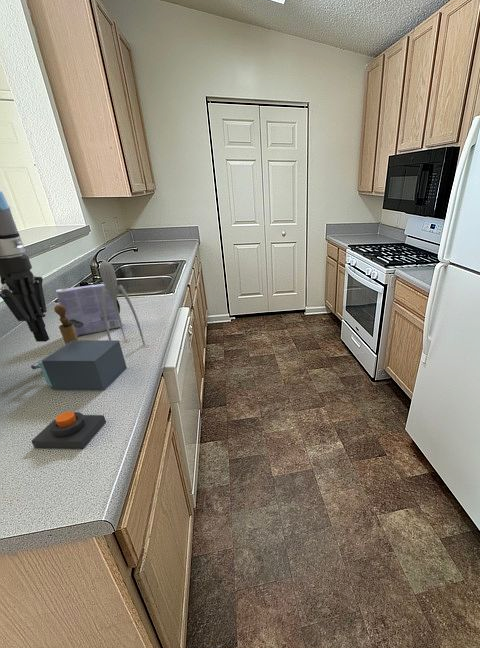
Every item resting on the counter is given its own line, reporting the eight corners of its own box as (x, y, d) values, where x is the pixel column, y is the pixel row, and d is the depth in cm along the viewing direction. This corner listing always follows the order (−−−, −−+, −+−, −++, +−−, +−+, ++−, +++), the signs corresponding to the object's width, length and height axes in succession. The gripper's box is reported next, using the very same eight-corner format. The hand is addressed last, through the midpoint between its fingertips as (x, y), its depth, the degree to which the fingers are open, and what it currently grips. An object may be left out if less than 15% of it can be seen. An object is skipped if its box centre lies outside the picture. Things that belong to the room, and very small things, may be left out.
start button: (54, 427, 73) (51, 421, 73) (64, 417, 77) (62, 411, 76) (69, 427, 73) (67, 421, 73) (80, 417, 77) (77, 411, 76)
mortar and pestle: (91, 350, 115) (74, 301, 107) (83, 359, 109) (65, 307, 101) (70, 352, 114) (52, 302, 106) (61, 361, 108) (41, 309, 100)
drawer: (31, 386, 93) (20, 362, 90) (59, 365, 104) (50, 343, 100) (94, 386, 93) (86, 362, 89) (116, 366, 103) (109, 343, 99)
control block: (34, 448, 73) (27, 434, 71) (62, 421, 81) (56, 408, 79) (83, 449, 72) (77, 435, 71) (106, 422, 80) (101, 409, 79)
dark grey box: (53, 390, 93) (41, 360, 89) (81, 367, 104) (72, 340, 100) (104, 390, 93) (94, 360, 88) (127, 367, 104) (119, 340, 100)
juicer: (139, 351, 114) (117, 263, 100) (112, 352, 113) (86, 264, 100) (149, 338, 123) (130, 256, 110) (124, 339, 122) (101, 257, 109)
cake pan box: (124, 322, 137) (112, 280, 129) (126, 326, 133) (114, 283, 125) (69, 333, 128) (54, 289, 120) (70, 338, 124) (53, 292, 116)
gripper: (0, 261, 77) (38, 351, 87) (41, 250, 88) (71, 330, 99) (-31, 261, 77) (11, 351, 88) (14, 250, 89) (46, 330, 99)
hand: (43, 340), depth 93 cm, fingers closed
